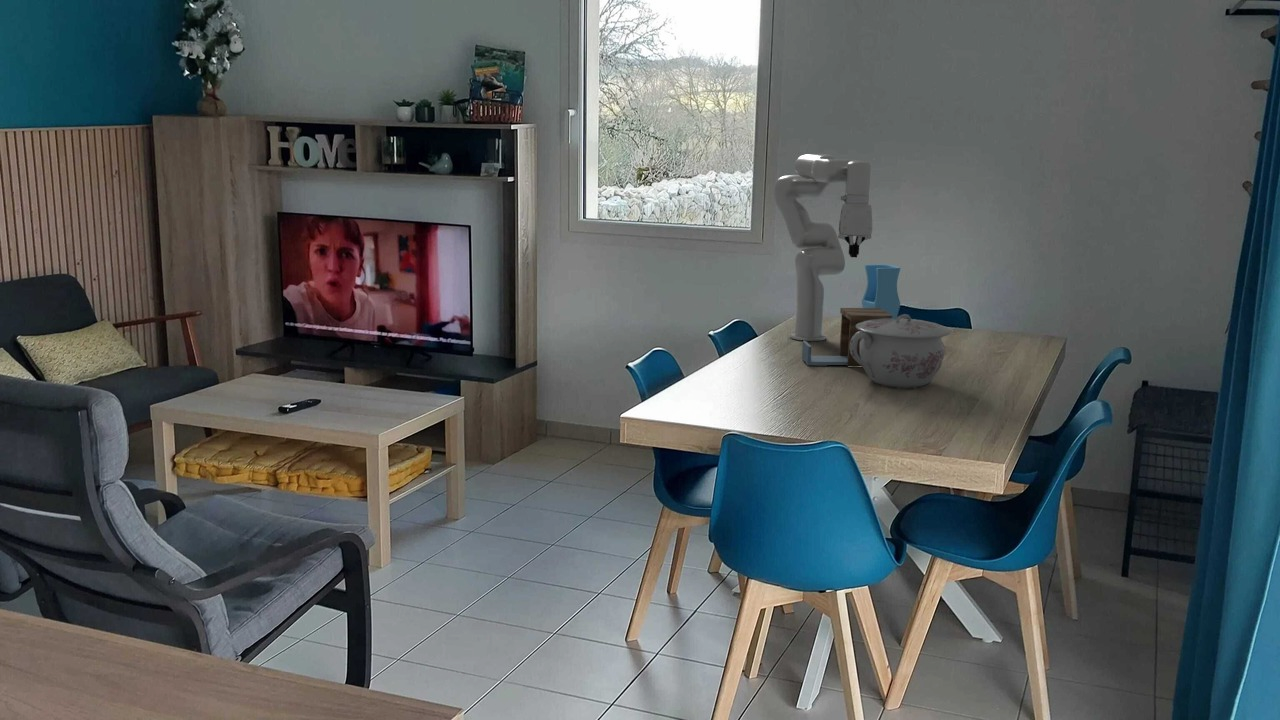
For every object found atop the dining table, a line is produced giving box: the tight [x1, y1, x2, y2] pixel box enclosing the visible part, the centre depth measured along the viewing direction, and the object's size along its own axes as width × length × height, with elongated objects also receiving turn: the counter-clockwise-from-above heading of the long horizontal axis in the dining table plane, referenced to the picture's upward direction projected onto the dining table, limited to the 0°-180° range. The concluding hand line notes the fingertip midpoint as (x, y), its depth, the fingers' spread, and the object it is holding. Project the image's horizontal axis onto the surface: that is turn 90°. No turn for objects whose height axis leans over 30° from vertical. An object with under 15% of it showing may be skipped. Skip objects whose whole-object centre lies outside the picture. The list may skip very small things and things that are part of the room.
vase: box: [861, 263, 901, 318], centre depth 408 cm, size 10×10×25 cm
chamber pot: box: [849, 313, 952, 389], centre depth 335 cm, size 28×28×21 cm
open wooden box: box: [838, 307, 892, 367], centre depth 362 cm, size 14×13×17 cm
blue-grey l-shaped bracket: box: [801, 341, 848, 366], centre depth 363 cm, size 9×23×6 cm, turn 93°
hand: (853, 256), depth 371 cm, fingers closed
